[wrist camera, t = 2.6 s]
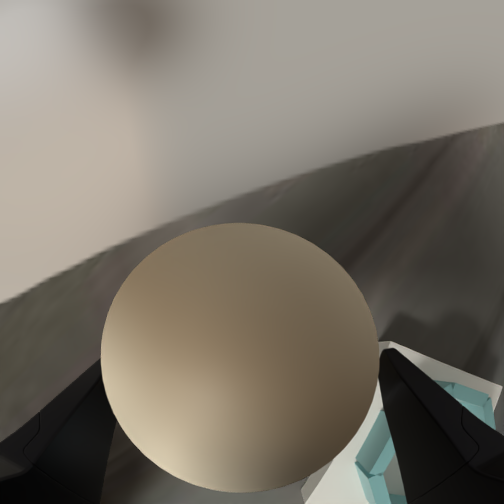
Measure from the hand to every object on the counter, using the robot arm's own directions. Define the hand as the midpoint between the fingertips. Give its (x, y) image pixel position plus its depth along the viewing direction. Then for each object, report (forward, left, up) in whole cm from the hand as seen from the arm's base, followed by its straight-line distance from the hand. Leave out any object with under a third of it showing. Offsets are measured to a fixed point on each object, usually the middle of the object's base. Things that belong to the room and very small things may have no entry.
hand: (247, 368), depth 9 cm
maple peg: (0, 0, -8) cm, 8 cm away
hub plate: (-2, -12, -8) cm, 15 cm away
